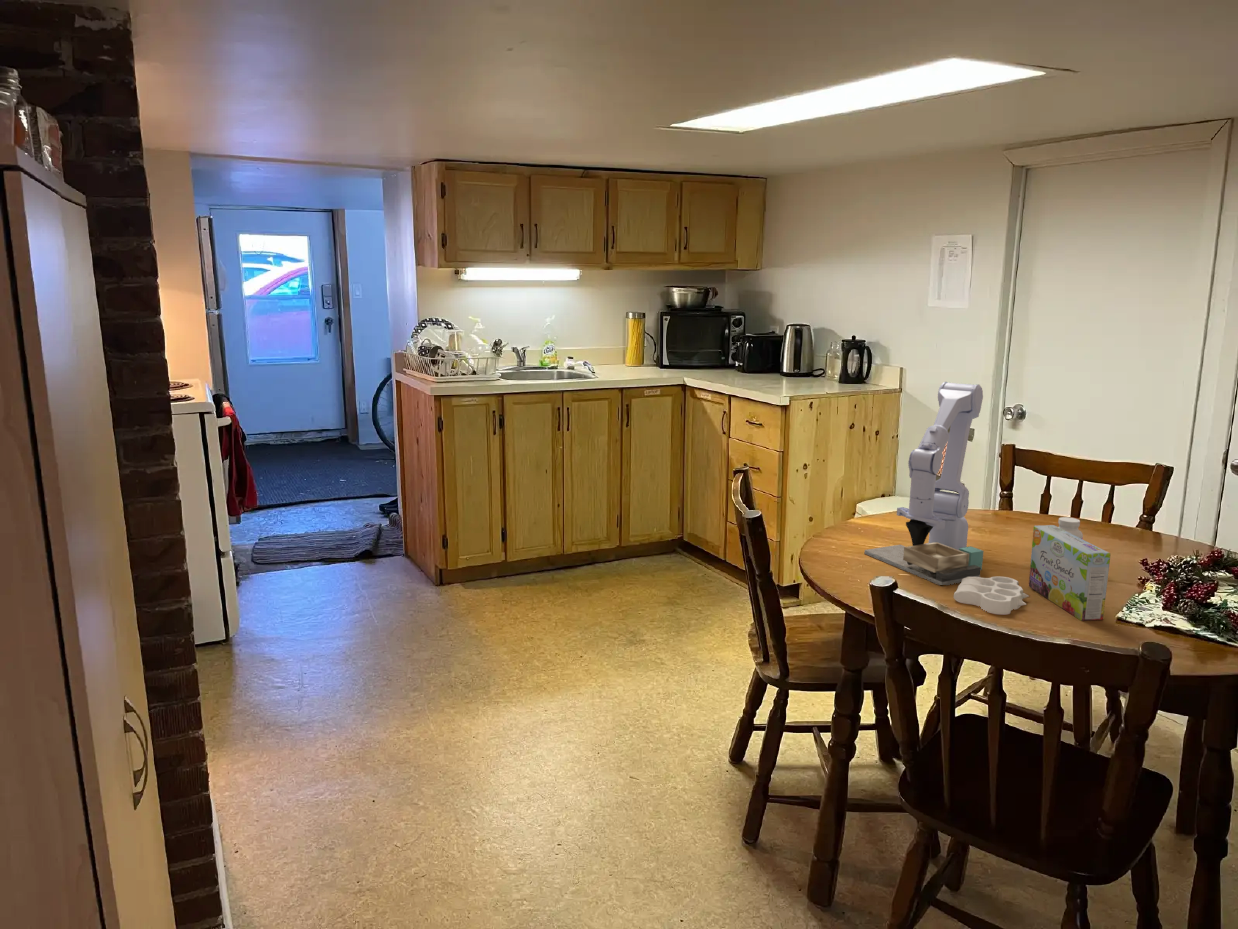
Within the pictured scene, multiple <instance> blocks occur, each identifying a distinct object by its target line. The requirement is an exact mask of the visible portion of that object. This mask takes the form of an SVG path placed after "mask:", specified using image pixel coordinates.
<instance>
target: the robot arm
mask: <svg viewBox="0 0 1238 929" xmlns="http://www.w3.org/2000/svg"><path fill="white" fill-rule="evenodd" d="M983 399H984V394H983V388H982V386H981V384H971V383H958V382H948V381H943V382H942V383H941V384H940V385H939V387H938V391H937V401H938V407H939V409H938V412H937V414H936V417H935V420H934V422H933V425H930V426H928V427H927V428H926V430H925V433H924V434H923V436H922V438H921V441H920V443H919V445H918V446H917V448H915V449H913V450H911V452H910V455H909V457H908V462H907V464H908V470H909V478H910V488H909V489H910V492H909V504H908V508H907V507H903V506H902V507H897V509H896V516H899V517H904V518H906V519H908V521H906V522H905V526H906V527H907V530H908V533H909V534H910V539H911V543H912V546H915V545H921V544H928V543H934V542H938V543H941V544H943V545H946V546H949V547H952V548H954V549H957V550H959V548H964V547H968V546H967V544H968V535H969V523H968V520H967V519H966V517H965V516H966V514H967V513H968V509H969V503H970V502H969V498H970V496H969V495H970V490H969V488H967V486H965V484H963V482H962V481H961V477H962V471H963V468H964V467H963V466H964V462H965V456H966V453H967V452H966V450H967V445H968V441H969V435H970V430H971V426H972V422H973V419H977V418H979V416H980V413H981V409H982V406H983V405H982V403H983ZM944 450H945V454H944V455H943V452H944ZM943 457H944V459H943ZM942 461H943V464H942ZM941 468H942V469H941ZM940 470H941V474H940V478H939V479H937V474H938V473H939V471H940ZM928 535H929V536H928ZM927 537H928V542H927V543H925V542H926V539H927Z"/></svg>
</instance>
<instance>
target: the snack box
mask: <svg viewBox="0 0 1238 929" xmlns="http://www.w3.org/2000/svg"><path fill="white" fill-rule="evenodd" d="M1058 527H1059V526H1057V525H1053V524H1049V525H1048V524H1047V525H1034V526H1033V531H1032V542H1031V555H1030V567H1029V568H1030V569H1029V578H1028V579H1029V580H1028V588H1031V589H1032V590H1034V591H1035V592H1037V593H1039V595H1041V596H1043V597H1045V598H1046V599H1047V600H1049V601H1050V602H1052V603H1053V604H1055V605H1056V606H1058V607H1059V608H1060V609H1063V610H1064V611H1066V612H1067V613H1069V614H1070V615H1071V616H1073V617H1075V618H1076V619H1078V620H1079V621H1081V622H1084V621H1100V620H1101V621H1103V620H1104V616H1105V615H1104V614H1105V606H1106V597H1107V588H1108V579H1109V571H1110V562H1111V553H1110V552H1109V551H1107V550H1105V549H1102V548H1100V547H1099V546H1096V545H1094V544H1092V543H1090V542H1088V541H1087V540H1084V539H1080V538H1078V537H1077V536H1075V535H1072V534H1070V533H1069V532H1067V531H1065V530H1062V529H1060V528H1058Z"/></svg>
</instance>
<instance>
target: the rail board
mask: <svg viewBox="0 0 1238 929" xmlns="http://www.w3.org/2000/svg"><path fill="white" fill-rule="evenodd" d="M904 547H906V546H905V545H902V544H895V545H889V546H882V547H875V548H869V549H864V555H866V556H869V557H870V558H871V557H872V558H874V559H877V560H879V561H881V562H884V563H886V564H888V565H890V566H893V567H895V568H897V569H901V570H902V571H904V572H907V573H909V572H910V574H912V575H914V576H916V575H917V576H916V577H919V578H921V579H923V578H924V580H926V579H927V580H926V581H928V582H931V583H933V584H935V585H937V586H940V585H946V586H950V584H951V585H956V583H957V584H960V582H962V579H964V578H966V577H980V578H981V571H982V570H981V567H979V566H976V565H971V566H965V567H959V568H953V569H948V570H942V571H936V574H931V573H930V571H929V570H927V569H924V568H922V567H919V566H917V565H914V564H912V565H908V564H907V561H905V560H903V555H904ZM954 583H955V584H954Z"/></svg>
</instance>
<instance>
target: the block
mask: <svg viewBox="0 0 1238 929" xmlns="http://www.w3.org/2000/svg"><path fill="white" fill-rule="evenodd" d="M959 550H960V551H963V552H965V553H968V554H969V563H968V566H971V565H976V566H979V567H981V571H982V569H983V561H984V550H982V549H980V548H976V547H974V546H967V547H964V548H959Z"/></svg>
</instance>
